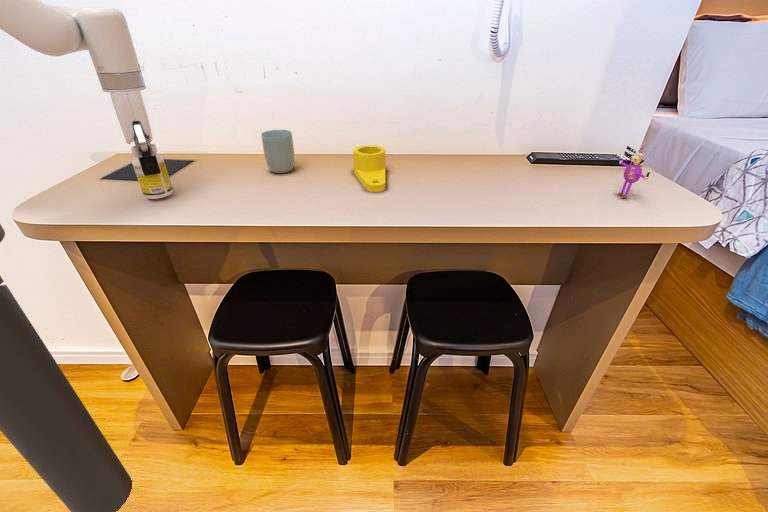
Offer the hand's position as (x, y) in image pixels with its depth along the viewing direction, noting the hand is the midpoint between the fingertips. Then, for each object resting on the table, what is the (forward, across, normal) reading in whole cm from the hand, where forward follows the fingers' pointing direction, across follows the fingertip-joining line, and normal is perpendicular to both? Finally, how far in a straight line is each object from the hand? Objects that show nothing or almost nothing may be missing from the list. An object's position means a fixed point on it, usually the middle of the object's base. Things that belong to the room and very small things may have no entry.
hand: (150, 168), depth 85 cm
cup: (+7, -2, +30) cm, 31 cm away
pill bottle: (+6, 0, 0) cm, 6 cm away
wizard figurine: (+6, +58, +91) cm, 108 cm away
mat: (+7, -22, 0) cm, 23 cm away
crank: (+7, +16, +48) cm, 51 cm away
